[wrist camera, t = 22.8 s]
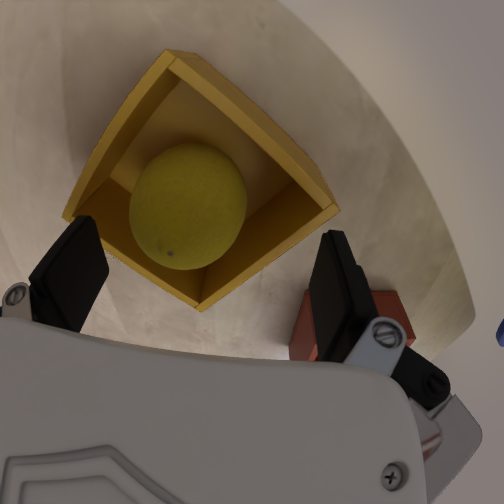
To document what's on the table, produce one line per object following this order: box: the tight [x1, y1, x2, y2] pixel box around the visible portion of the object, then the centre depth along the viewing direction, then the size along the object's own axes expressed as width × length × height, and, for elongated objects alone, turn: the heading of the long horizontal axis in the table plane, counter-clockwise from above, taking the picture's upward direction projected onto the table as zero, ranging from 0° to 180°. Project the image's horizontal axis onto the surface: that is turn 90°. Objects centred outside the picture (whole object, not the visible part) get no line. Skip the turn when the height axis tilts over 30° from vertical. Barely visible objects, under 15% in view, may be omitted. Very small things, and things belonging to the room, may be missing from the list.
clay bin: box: [289, 290, 416, 362], centre depth 24 cm, size 9×9×6 cm
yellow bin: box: [62, 49, 340, 312], centre depth 14 cm, size 10×10×6 cm
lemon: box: [129, 143, 247, 270], centre depth 13 cm, size 6×6×8 cm
